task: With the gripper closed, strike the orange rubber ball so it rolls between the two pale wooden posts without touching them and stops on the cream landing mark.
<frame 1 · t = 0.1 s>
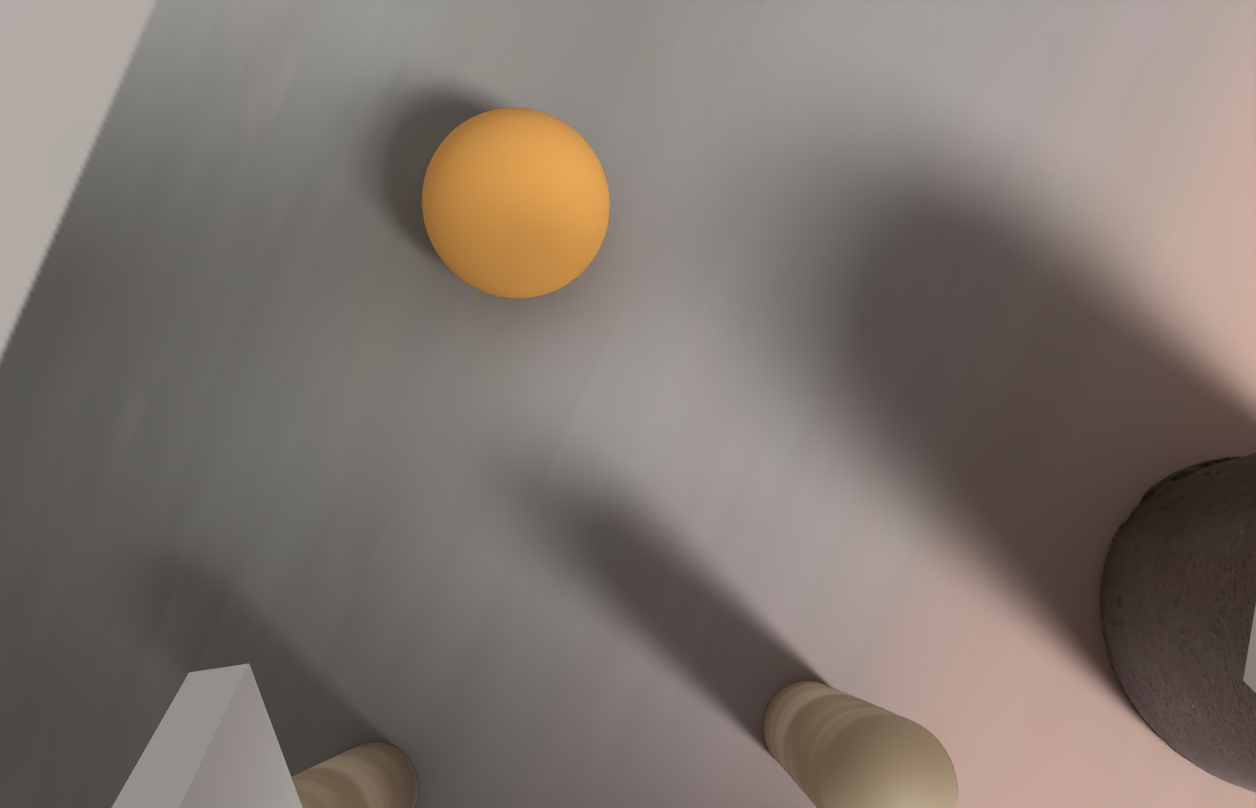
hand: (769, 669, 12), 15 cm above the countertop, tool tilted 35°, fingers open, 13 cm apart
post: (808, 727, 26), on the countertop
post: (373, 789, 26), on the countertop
ball: (516, 205, 27), on the countertop
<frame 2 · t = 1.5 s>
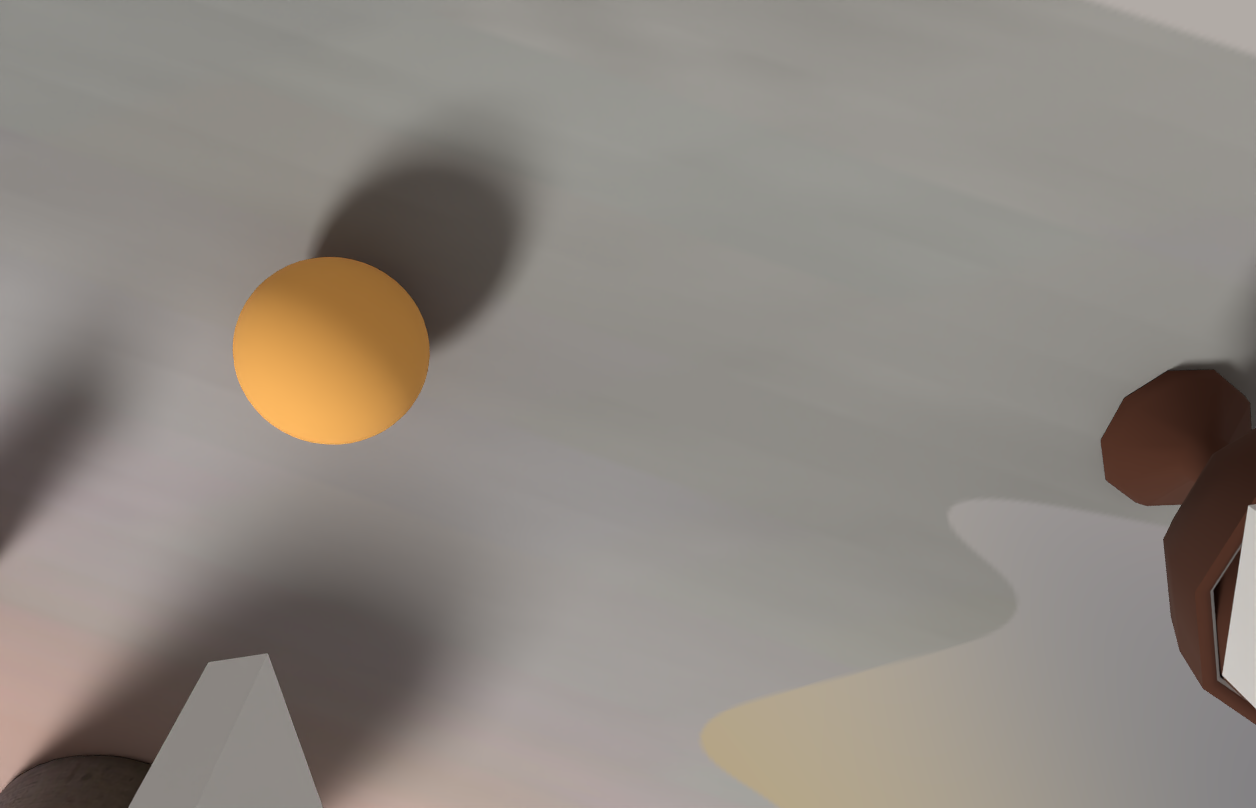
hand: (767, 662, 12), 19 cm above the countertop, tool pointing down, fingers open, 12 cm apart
ice cream bowl: (1170, 435, 34), on the countertop
ball: (334, 351, 27), on the countertop
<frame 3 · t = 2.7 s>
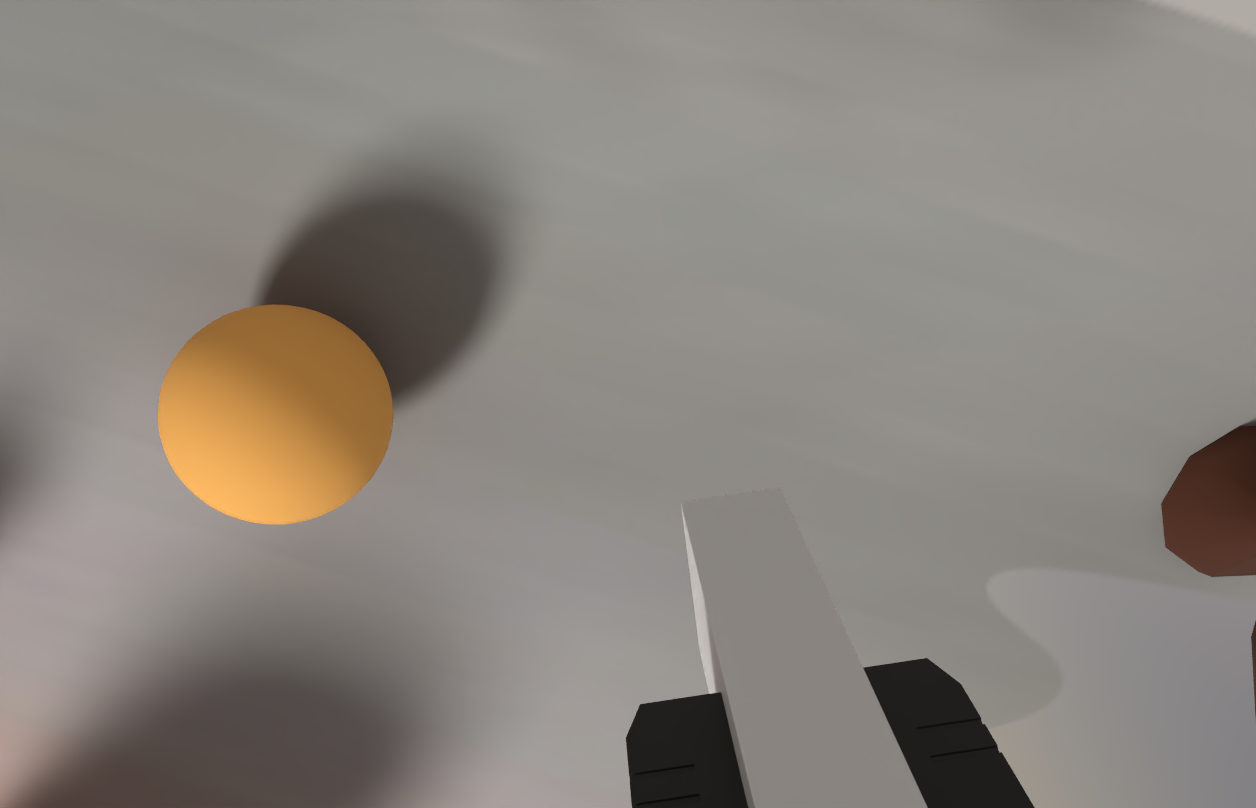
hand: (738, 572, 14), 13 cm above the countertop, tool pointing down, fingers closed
ice cream bowl: (1239, 497, 30), on the countertop
ball: (280, 414, 23), on the countertop
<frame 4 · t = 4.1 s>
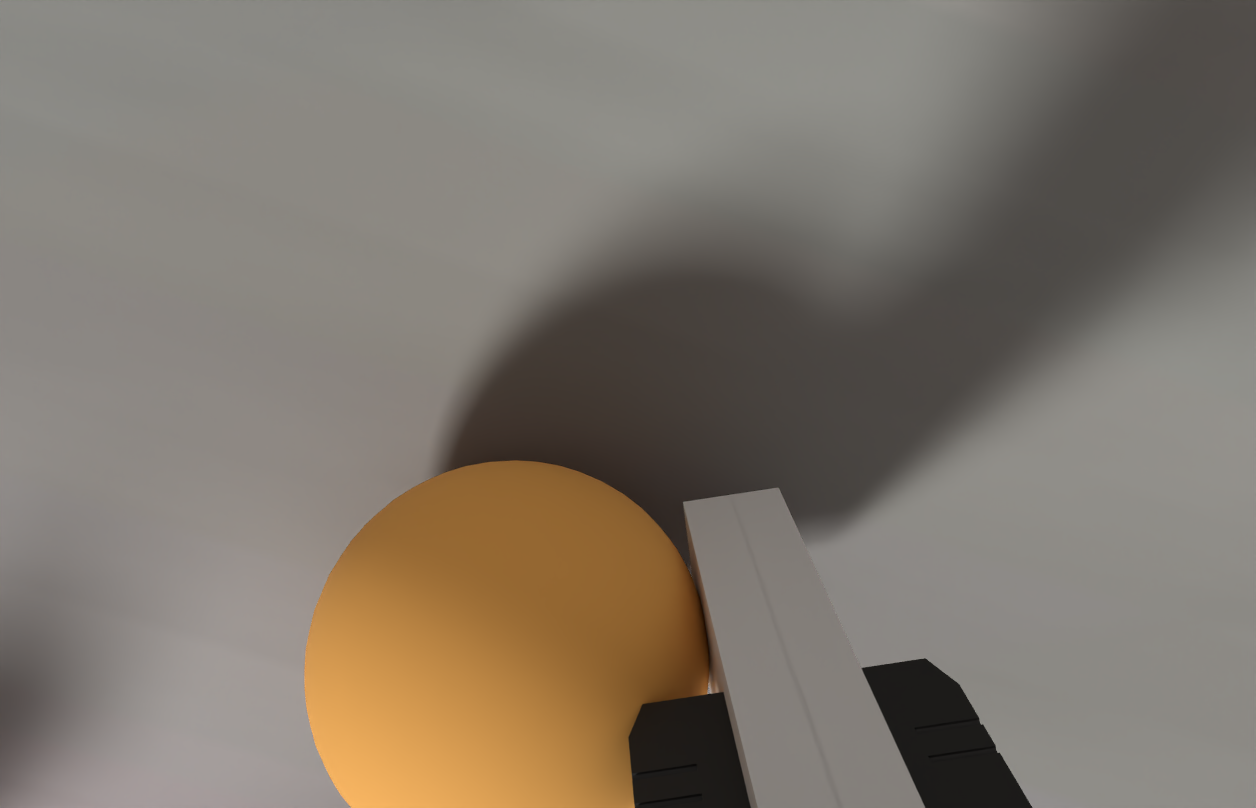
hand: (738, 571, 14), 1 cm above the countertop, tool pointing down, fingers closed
ball: (512, 656, 13), on the countertop, touching gripper
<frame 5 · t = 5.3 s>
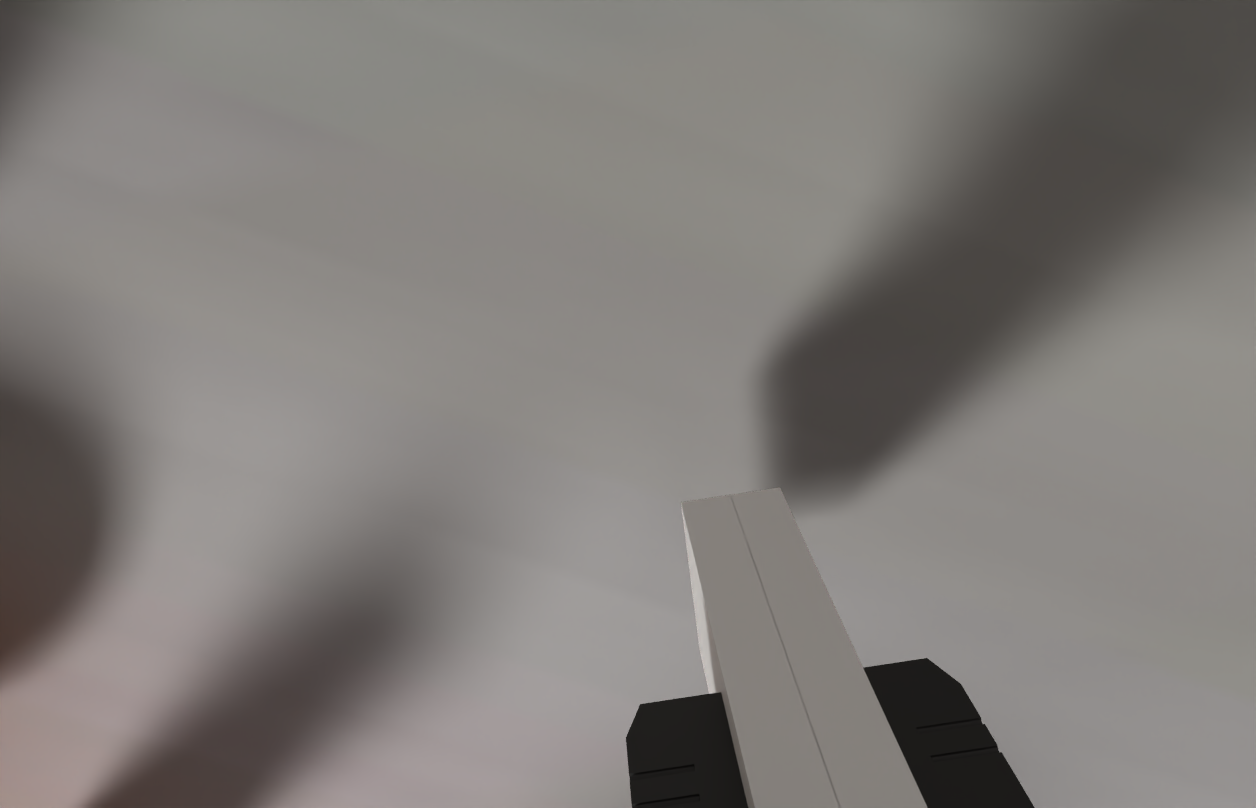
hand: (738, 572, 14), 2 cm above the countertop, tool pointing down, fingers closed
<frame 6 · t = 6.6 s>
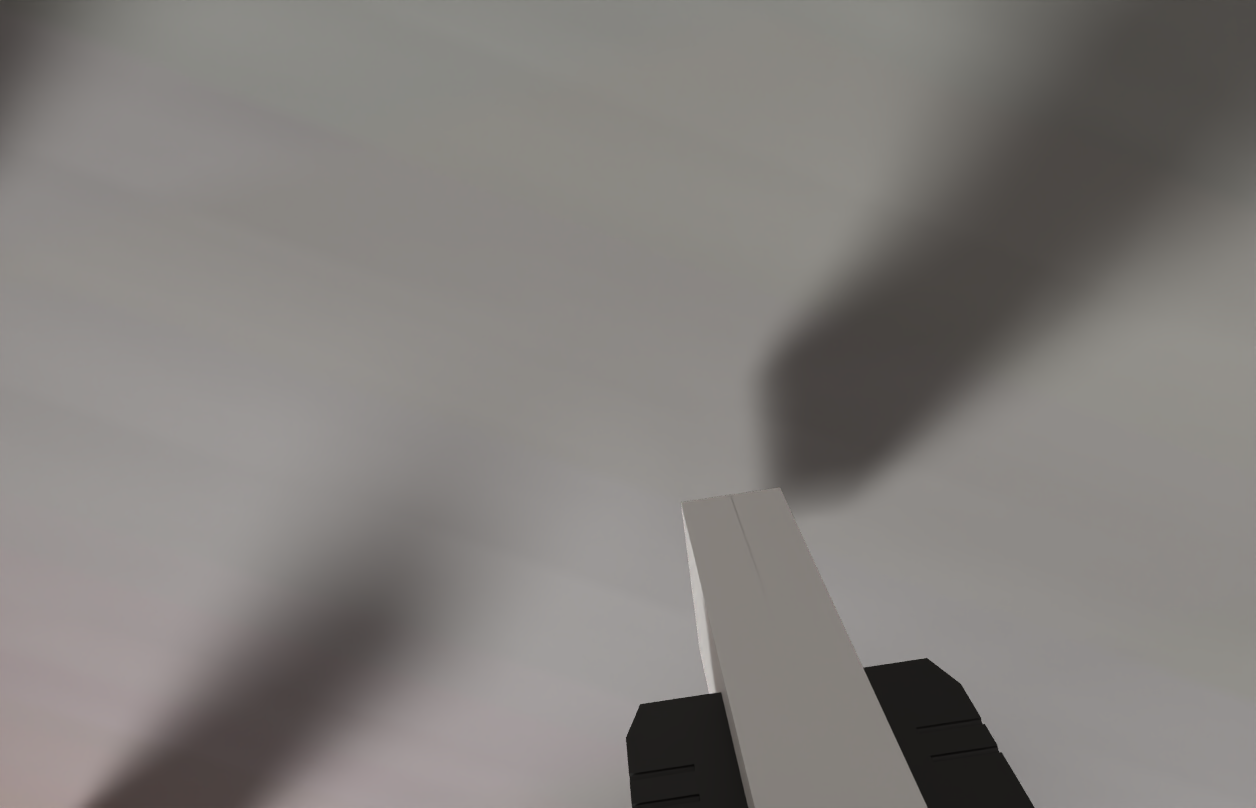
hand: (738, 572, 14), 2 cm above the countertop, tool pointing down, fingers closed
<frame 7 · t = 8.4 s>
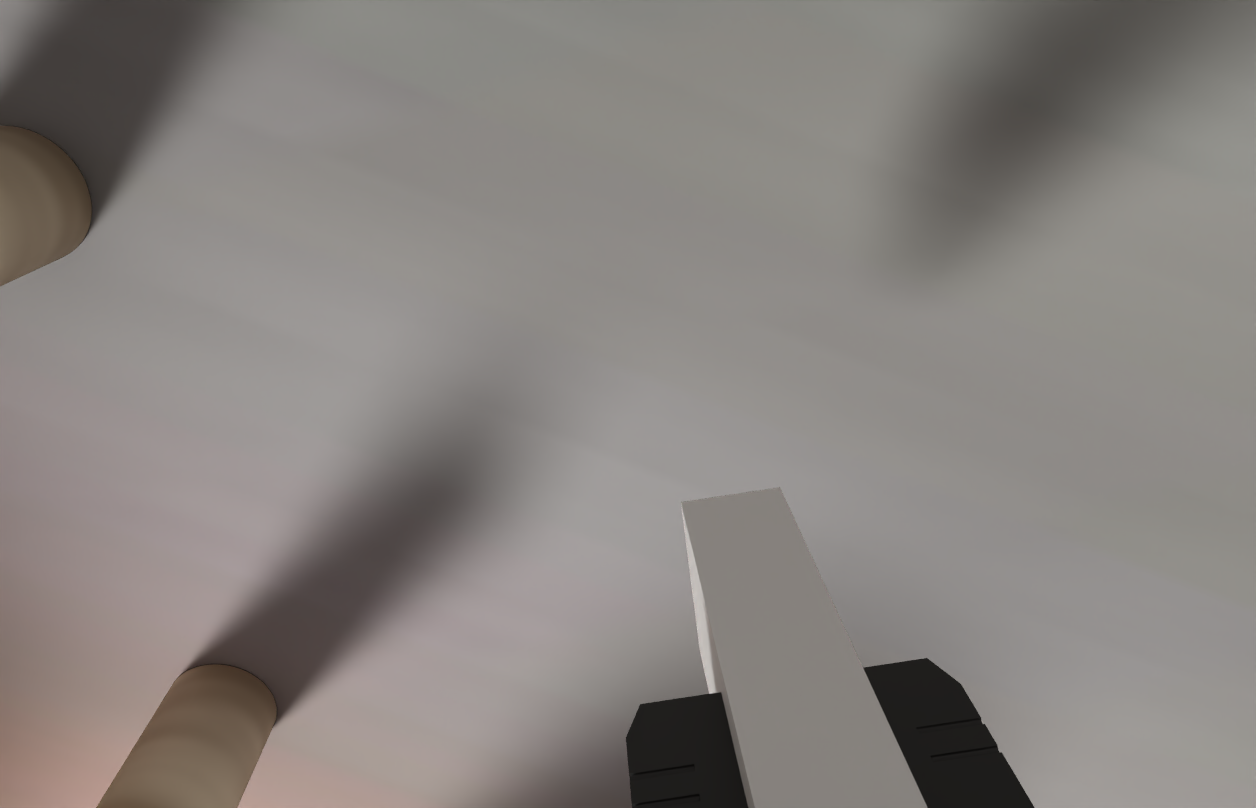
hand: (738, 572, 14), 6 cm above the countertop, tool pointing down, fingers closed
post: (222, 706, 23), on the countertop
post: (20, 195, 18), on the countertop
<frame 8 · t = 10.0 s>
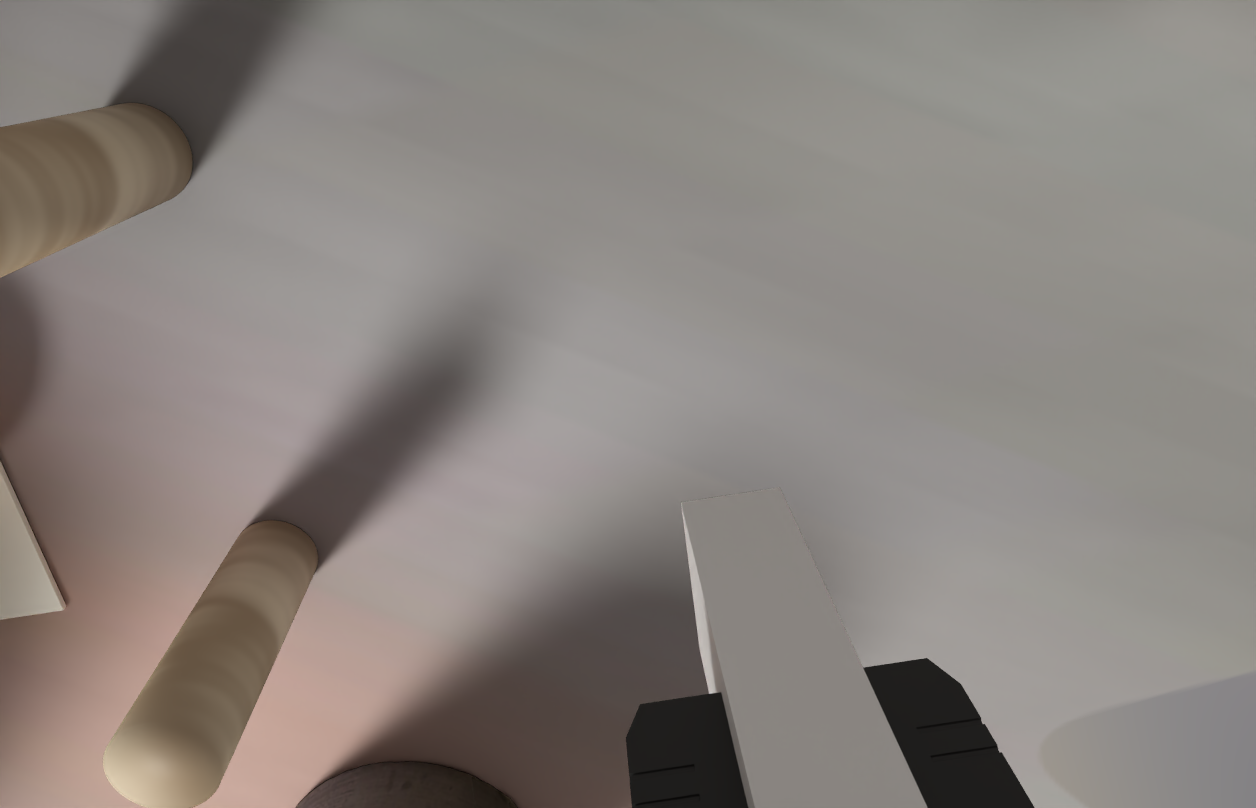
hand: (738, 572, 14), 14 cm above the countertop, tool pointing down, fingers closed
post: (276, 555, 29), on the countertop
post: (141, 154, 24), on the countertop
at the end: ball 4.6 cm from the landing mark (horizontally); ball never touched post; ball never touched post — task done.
